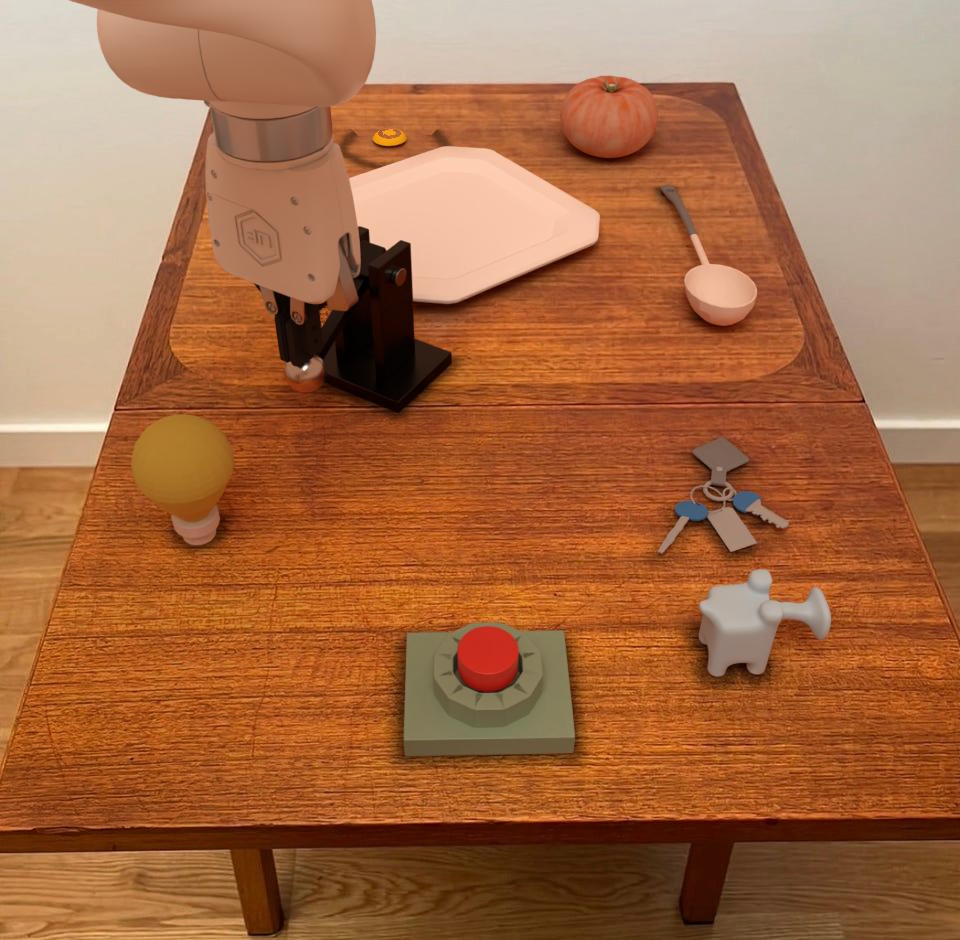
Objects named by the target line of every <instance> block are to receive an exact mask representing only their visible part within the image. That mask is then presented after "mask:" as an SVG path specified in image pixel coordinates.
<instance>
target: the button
mask: <svg viewBox="0 0 960 940" xmlns="http://www.w3.org/2000/svg"><path fill="white" fill-rule="evenodd" d="M518 655H519V649H518V644H517V642H516V640H515V639H514V637H513V636H512V635H511V634H510V633H508V632H507V631H505V630H503V629H501V628H498V627H492V626H483V627H478V628H475V629H473V630H471V631H469V632H468V633H466V634H465V635H464V636H463V637H462V639H461V640H460V642H459V644H458V672H459V675H460V677H461V679H462V680H463V681H464V683H465V684H467V685H468V686H469V687H471V688H473V689H475V690H478V691H483V692H494V691H498V690H501V689H503V688H505V687H507V686H508V685H509V684H511V683H512V681H513V680H514V679H515V677H516V675H517V671H518Z"/></svg>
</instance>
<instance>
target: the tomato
mask: <svg viewBox="0 0 960 940" xmlns="http://www.w3.org/2000/svg"><path fill="white" fill-rule="evenodd" d="M559 119H560V120H559V121H560V127H561V130H562V132H563V134H564V136H565V138H566V139H567V140H568V141H569V143H570V144H571V145H572V146H573V147H574V148H576V149H577V150H579V151H581V152H583V153H585V154H587V155H589V156H593V157H596V158H602V159H603V158H604V159H616V158H622V157H626V156H629V155H631V154H634V153H636V152H638V151H639V150H640V149H642V148H643V147H645V146H646V145H647V144H648V143H649V142H650V141H651V139H652V137H653V136H654V134H655V132H656V130H657V127H658V122H659V110H658V105H657V102H656V100H655V97H654V96H653V94H652V93H651V91H650V90H649V89H648V88H647V87H646V86H644V85H643V84H640V82H638V81H636V80H634V79H631V78H628V77H625V76H623V77H622V76H615V75H599V76H596V77H590V78H586V79H584V80H582V81H580V82H578V83H577V84H575V85H574V86H573V87H572V88H571V89H570V90H569V91H568V92H567V94H566V96H565V97H564V99H563V101H562V103H561V106H560V113H559Z"/></svg>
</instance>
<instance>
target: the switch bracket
mask: <svg viewBox="0 0 960 940" xmlns="http://www.w3.org/2000/svg"><path fill="white" fill-rule="evenodd" d="M358 232H359V242H360V243H361V242H362V240H364V241H367V242H370V236H369V229H367V228H364V227H361V226H358ZM368 271H369V285H370V290H368V289H366V291H365V293H364V294H363V296H362V297H361V299H360V301H359V302H358V304H357V306H356V307H355V309H354V311H353V312H352V314H351V315H350V317H349V319H348V320H347V322H346V324H345V325H344V327H343V328H342V330H341V332H340V333H339V335H338V337H337V338H336V340H335V341H334V343H333V345H332V346H331V348H330V350H329V351H328V353H327V355H326V356H325V358H324V359H323V361H324V363H325V366H326V378H325V380H324V382H323V384H325V385H328V386H330V387H333V388H335V389H338V390H340V391H343V392H345V393H348V394H350V395H352V396H355V397H358V398H359V399H362V400H365V401H367V402H370V403H372V404H375V405H377V406H379V407H381V408H384V409H387V410H389V411H392V412H394V413H397V414H400V413H401V412H402V411H403V410H404V409H405V408H406V407H407V406H409V404H411V402H413V401H414V400H415V399H416V398H417V397H418V396H419V395H420V394H421V393H422V392H423V391H424V390H426V388H427V387H428V386H430V385H431V383H433V382H434V381H435V380H436V379H437V378H438V377H440V375H442V373H444V372H445V370H447V369H448V367H450V366H451V365H452V363H453V354H452V351H449V350H446V349H444V348H441V347H439V346H436V345H433V344H431V343H428V342H425V341H423V340H420V339H418V338H415V314H414V313H415V311H414V301H413V287H412V262H411V243H409V242H406V241H403V240H400V241H399V242H397V243H396V244H395V245H393V246H392V247H391V248H389V249H388V250H387V251H386V252H384V253H383V254H382V255H380V256H379V257H378V258H376V259H375V260H374V261H372V262H371V263H370V264H369V265H368Z"/></svg>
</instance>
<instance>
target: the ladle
mask: <svg viewBox="0 0 960 940" xmlns="http://www.w3.org/2000/svg"><path fill="white" fill-rule="evenodd" d="M659 189H660V191H661V192H662V194H663V195H664V196H665V197H666V198H667V199H668V200H669V201H670V203H672V204H673V206H674V207H675V209H676V211H677V213H678V215H679V217H680V219H681V221H682V223H683V226H684V227H685V230H686V232H687V234H688V237H689V239H690V241H691V242H692V245H693V247H694V250H695V252H696V255H697V257H698V259H699V262H700V265H697V266H694V267H692V268H691V269H689V270H688V271H687V272H686V273H685V276H684V279H683V283H684V291H685V295H686V298H687V300H688V303H689V305H690V307H691V308H692V310H693V311H694V312H695V313H696V314H697V315H698V316H699V317H700V318H701V319H703V320H704V321H705V322H708V323H709V324H712V325H715V326H723V327H726V326H732V325H734V324H737V323H738V322H741V321H742V320H744V319H746V317H747V316H748V315H749V313H750V312H751V311H752V309H753V308H754V307H755V303H756V300H757V296H758V288H757V286H756V283H755V282H754V281H753V279H751V278H750V276H748V275H747V274H745V273H744V272H743V271H741V270H739V269H736V268H734V267H731V266H728V265H723V264H719V263H718V264H717V263H710V261H709V259H708V256H707V254H706V252H705V250H704V247H703V244H702V242H701V240H700V238H699V234H698V232H697V229H696V227H695V225H694V223H693V220H692V219H691V216H690V213H689V211H688V210H687V208H686V206H685V204H684V202H683V200H682V198H681V196H680V194H679V191H677V189H676V188H675V187H674V185H672V184H664V185H661V186H660V187H659Z"/></svg>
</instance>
